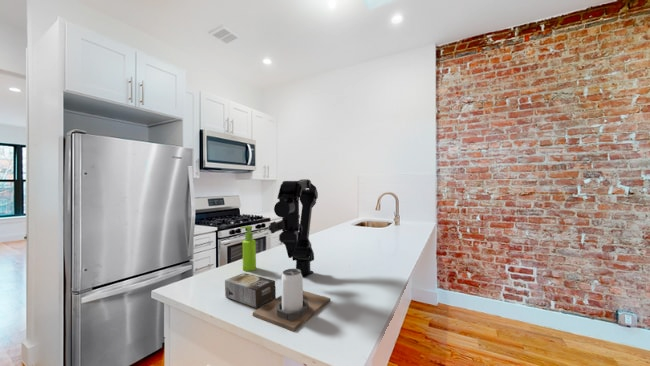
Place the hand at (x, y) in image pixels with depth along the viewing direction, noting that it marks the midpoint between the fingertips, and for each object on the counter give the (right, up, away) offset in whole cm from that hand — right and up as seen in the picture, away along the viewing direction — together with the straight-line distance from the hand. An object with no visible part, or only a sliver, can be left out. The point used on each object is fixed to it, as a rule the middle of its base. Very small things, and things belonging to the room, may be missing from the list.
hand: (292, 254), depth 98 cm
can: (+2, -12, -19) cm, 22 cm away
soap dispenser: (-23, -13, +21) cm, 34 cm away
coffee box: (-21, -10, -4) cm, 23 cm away
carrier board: (+2, -13, -15) cm, 20 cm away
